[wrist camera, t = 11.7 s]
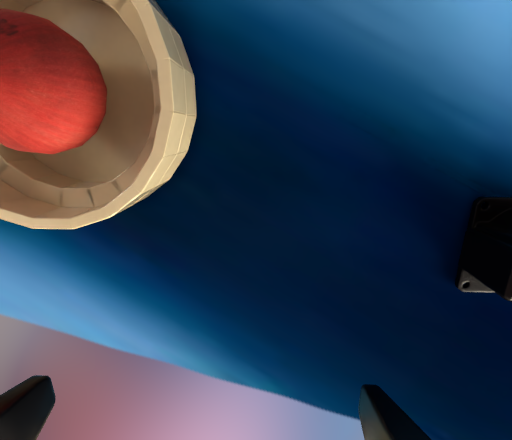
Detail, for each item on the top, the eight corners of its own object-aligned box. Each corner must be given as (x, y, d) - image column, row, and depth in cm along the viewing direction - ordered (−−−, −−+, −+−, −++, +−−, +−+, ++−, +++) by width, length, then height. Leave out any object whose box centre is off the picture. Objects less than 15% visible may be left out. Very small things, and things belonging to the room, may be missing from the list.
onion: (13, 86, 17) (-198, 49, 9) (80, 15, 16) (-97, -95, 8) (86, 167, 18) (-46, 194, 10) (154, 107, 17) (61, 88, 9)
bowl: (191, -38, 15) (156, -114, 11) (203, 206, 19) (183, 231, 14) (-52, -34, 16) (-191, -106, 11) (8, 204, 20) (-75, 227, 15)
